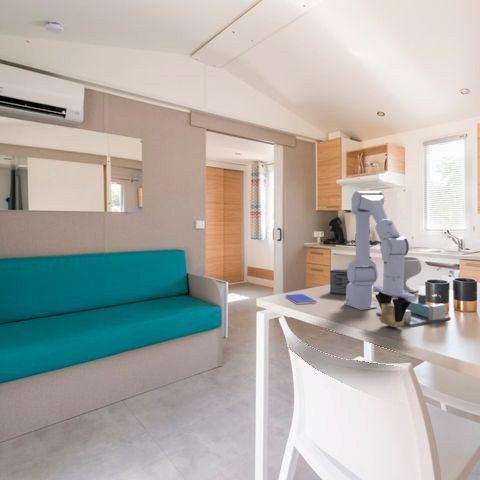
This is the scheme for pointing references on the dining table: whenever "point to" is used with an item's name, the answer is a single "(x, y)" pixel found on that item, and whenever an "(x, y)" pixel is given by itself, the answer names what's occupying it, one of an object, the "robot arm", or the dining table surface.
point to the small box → (338, 281)
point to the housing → (389, 315)
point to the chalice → (410, 271)
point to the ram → (419, 306)
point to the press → (414, 319)
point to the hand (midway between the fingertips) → (392, 319)
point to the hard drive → (300, 299)
